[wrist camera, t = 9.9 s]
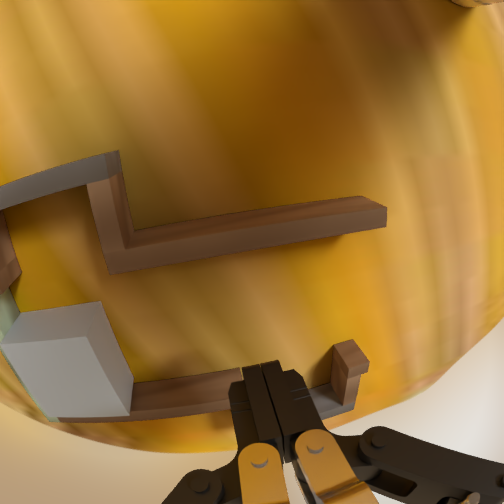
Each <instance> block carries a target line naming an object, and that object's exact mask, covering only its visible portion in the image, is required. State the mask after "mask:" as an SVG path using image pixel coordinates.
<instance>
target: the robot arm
mask: <svg viewBox="0 0 504 504" xmlns="http://www.w3.org/2000/svg"><path fill="white" fill-rule="evenodd" d="M451 1H452V2H454V3H456V4H458V5H461V6H463V7H476V6H481V5H490V4H492V3H498V2H504V0H451ZM260 366H261V367H260ZM242 372H243V378H244V380H241V381H236V382H231V385H230V388H229V391H228V396H229V402H230V407H231V413H232V418H233V424H234V429H235V434H236V439H237V444H238V451H237V454H236V456H235V458H234V459H233V460H232V461H231V462H230V463H229V464H227V465H225V466H223V467H221V468H219V469H217V470H215V471H209V470H205V469H197V470H193V471H191V472H189V473H187V474H186V475H185V476H184V477H183V478H182V479H181V481H180V482H179V483H178V484H177V486H176V487H175V488H174V489H173V491H172V492H171V493H170V494H169V495H168V496H167V498H166V499H165V500H164V501H163V502H162V504H290V502H289V498H288V493H287V488H286V484H285V479H284V474H283V464H284V460H285V463H289V462H292V464H293V467H294V470H295V478H296V481H297V483H298V486H299V488H300V490H301V492H302V495H303V496H304V499H305V501H306V503H307V504H379V503H378V501H377V499H376V498H375V496H374V494H373V493H372V491H374V492H377V493H379V494H381V495H384V496H386V497H389V498H392V499H395V500H397V501H400V502H403V503H405V504H502V502H504V464H502V463H498V462H494V461H489V460H486V459H482V458H478V457H475V456H471V455H467V454H464V453H460V452H457V451H454V450H450V449H447V448H444V447H441V446H438V445H435V444H431V443H429V442H425V441H422V440H420V439H417V438H414V437H411V436H408V435H406V434H403V433H400V432H398V431H395V430H392V429H389V428H387V427H382V426H377V427H372V428H370V429H368V430H366V431H365V432H364V433H363V434H362V435H356V436H340V435H336V434H333V433H331V432H330V431H328V430H327V429H326V428H325V426H324V425H323V422H322V420H321V418H320V416H319V413H318V411H317V409H316V407H315V404H314V402H313V400H312V397H311V396H310V393H309V391H308V389H307V386H306V384H305V381H304V379H303V377H302V376H301V375H300V374H299V373H298V372H296V371H295V370H294V369H292V370H288V371H283V370H282V368H281V365H280V362H279V360H275V361H270V362H266V363H261V364H260V365H259V364H256V365H252V366H247V367H242ZM283 457H284V460H283Z"/></svg>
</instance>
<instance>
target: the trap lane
mask: <svg viewBox="0 0 504 504" xmlns="http://www.w3.org/2000/svg"><path fill="white" fill-rule="evenodd" d="M85 184H86V185H87V190H88V194H89V199H90V203H91V208H92V212H93V216H94V220H95V224H96V228H97V232H98V236H99V240H100V243H101V247H102V251H103V254H104V258H105V261H106V264H107V268H108V271H109V274H110V275H113V274H118V273H124V272H130V271H135V270H141V269H147V268H152V267H158V266H164V265H170V264H175V263H181V262H187V261H192V260H198V259H204V258H210V257H215V256H221V255H227V254H233V253H238V252H244V251H250V250H256V249H261V248H267V247H273V246H279V245H284V244H290V243H296V242H302V241H307V240H313V239H319V238H325V237H331V236H336V235H342V234H348V233H354V232H360V231H365V230H371V229H377V228H383V227H386V222H387V207H385V206H383V205H381V204H379V203H377V202H374V201H372V200H370V199H368V198H365V197H363V196H355V197H347V198H338V199H330V200H323V201H315V202H307V203H300V204H293V205H286V206H279V207H272V208H265V209H258V210H252V211H245V212H239V213H232V214H226V215H220V216H214V217H208V218H202V219H196V220H190V221H185V222H179V223H173V224H168V225H162V226H157V227H151V228H146V229H141V230H136V231H134V227H133V223H132V218H131V214H130V209H129V204H128V200H127V195H126V189H125V184H124V179H123V173H122V168H121V162H120V156H119V150H117V151H112V152H108V153H104V154H100V155H96V156H93V157H89V158H85V159H82V160H78V161H74V162H71V163H68V164H64V165H61V166H58V167H54V168H51V169H48V170H45V171H42V172H39V173H36V174H33V175H30V176H27V177H24V178H21V179H19V180H16V181H13V182H10V183H8V184H5V185H3V186H0V343H1V341H2V340H3V338H4V337H5V335H6V334H7V332H8V331H9V329H10V328H11V326H12V325H13V323H14V322H15V320H16V319H17V318H18V316H19V315H20V312H19V309H18V307H17V305H16V303H15V300H14V298H13V296H12V293H11V291H10V289H9V286H10V285H11V284H12V283H13V282H14V281H15V280H16V278H17V277H18V276H19V275H20V274H21V273H22V271H21V269H20V266H19V263H18V260H17V257H16V254H15V251H14V248H13V245H12V242H11V239H10V235H9V232H8V229H7V225H6V221H5V218H4V214H3V210H2V209H5V208H8V207H11V206H14V205H17V204H20V203H23V202H26V201H29V200H32V199H35V198H39V197H42V196H45V195H49V194H52V193H56V192H59V191H63V190H66V189H70V188H74V187H77V186H81V185H85ZM0 350H1V352H2V354H3V356H4V357H5V359H6V361H7V362H8V364H9V365H10V367H11V369H12V370H13V372H14V373H15V375H16V376H17V378H18V379H19V381H20V382H21V384H22V385H23V387H24V388H25V390H26V391H27V393H28V394H29V395H30V397H31V398H32V399H33V401H34V402H35V404H36V405H37V406H38V408H39V409H40V410H41V411H42V413H43V414H44V415H45V417H46V418H47V419H48V420H49V422H69V423H101V422H127V421H142V420H154V419H164V418H174V417H182V416H190V415H197V414H204V413H210V412H216V411H222V410H228V409H231V407H230V402H229V396H228V391H229V388H230V385H231V382H236V381H241V380H242V376H241V372H240V368H235V369H230V370H224V371H219V372H213V373H207V374H201V375H195V376H188V377H181V378H174V379H167V380H159V381H151V382H142V383H133V389H132V398H131V407H130V416H115V417H48V416H47V414H46V413H45V412H44V411H43V409H42V408H41V407H40V405H39V404H38V403H37V401H36V400H35V399H34V397H33V396H32V394H31V393H30V392H29V390H28V389H27V387H26V386H25V384H24V383H23V381H22V380H21V378H20V377H19V375H18V374H17V372H16V371H15V369H14V368H13V366H12V364H11V363H10V361H9V360H8V358H7V356H6V355H5V353H4V351H3V349H2V348H1V346H0ZM369 362H370V361H369V360H368V359H367V357H366V356H365V355H364V353H363V352H362V351H361V349H360V348H359V347H358V345H357V344H356V343H355V341H354V340H353V339H352V340H349V341H345V342H342V343H339V344H335V345H334V346H333V358H332V369H331V379H330V383H328V384H325V385H322V386H318V387H315V388H311V389H308V391H309V393H310V396H311V397H312V400H313V402H314V404H315V407H316V409H317V411H318V413H319V416H320V418H321V420H324V419H327V418H330V417H333V416H336V415H339V414H342V413H345V412H348V411H351V410H353V409H354V406H355V401H356V396H357V392H358V387H359V382H360V377H361V374H364V373H366V372H368V367H369Z"/></svg>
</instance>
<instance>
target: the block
mask: <svg viewBox="0 0 504 504" xmlns="http://www.w3.org/2000/svg"><path fill="white" fill-rule="evenodd" d="M0 346H1V348H2V349H3V351H4V353H5V355H6V356H7V358H8V360H9V361H10V363H11V364H12V366H13V368H14V369H15V371H16V372H17V374H18V375H19V377H20V378H21V380H22V381H23V383H24V384H25V386H26V387H27V389H28V390H29V392H30V393H31V394H32V396H33V397H34V399H35V400H36V401H37V403H38V404H39V405H40V407H41V408H42V409H43V411H44V412H45V413H46V414H47V416H48V417H115V416H130V407H131V398H132V389H133V381H134V377H133V375H132V373H131V371H130V368H129V366H128V364H127V362H126V360H125V358H124V356H123V353H122V351H121V349H120V347H119V344H118V342H117V340H116V338H115V335H114V333H113V330H112V328H111V326H110V323H109V321H108V318H107V316H106V313H105V311H104V308H103V305H102V303H101V301H96V302H90V303H83V304H77V305H71V306H64V307H57V308H51V309H44V310H37V311H30V312H23V313H20V315H19V316H18V318H17V319H16V320H15V322H14V323H13V325H12V326H11V328H10V329H9V331H8V332H7V334H6V335H5V337H4V338H3V340H2V341H1V343H0Z"/></svg>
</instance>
